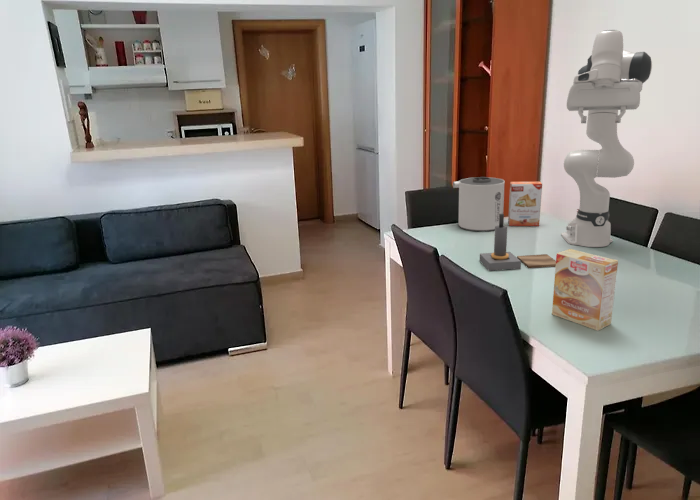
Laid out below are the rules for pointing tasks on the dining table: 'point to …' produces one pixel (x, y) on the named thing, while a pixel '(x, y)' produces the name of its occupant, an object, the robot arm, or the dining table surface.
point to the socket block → (500, 262)
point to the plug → (500, 241)
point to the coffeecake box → (584, 288)
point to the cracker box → (524, 203)
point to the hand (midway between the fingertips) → (600, 122)
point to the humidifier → (480, 203)
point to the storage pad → (537, 261)
